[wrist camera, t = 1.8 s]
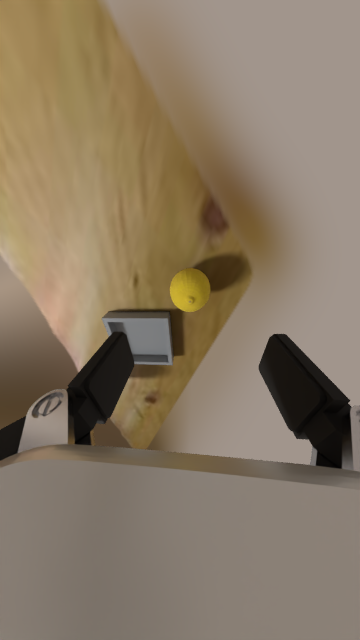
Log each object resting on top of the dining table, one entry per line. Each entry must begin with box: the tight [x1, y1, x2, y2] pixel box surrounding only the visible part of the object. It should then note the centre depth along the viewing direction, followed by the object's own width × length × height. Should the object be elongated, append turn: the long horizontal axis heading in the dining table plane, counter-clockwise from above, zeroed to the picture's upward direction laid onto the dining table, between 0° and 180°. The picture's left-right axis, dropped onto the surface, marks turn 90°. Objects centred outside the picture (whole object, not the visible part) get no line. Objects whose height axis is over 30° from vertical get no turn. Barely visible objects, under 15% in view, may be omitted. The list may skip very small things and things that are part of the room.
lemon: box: [170, 268, 210, 312], centre depth 19 cm, size 6×6×8 cm
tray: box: [102, 312, 174, 365], centre depth 28 cm, size 12×12×2 cm
